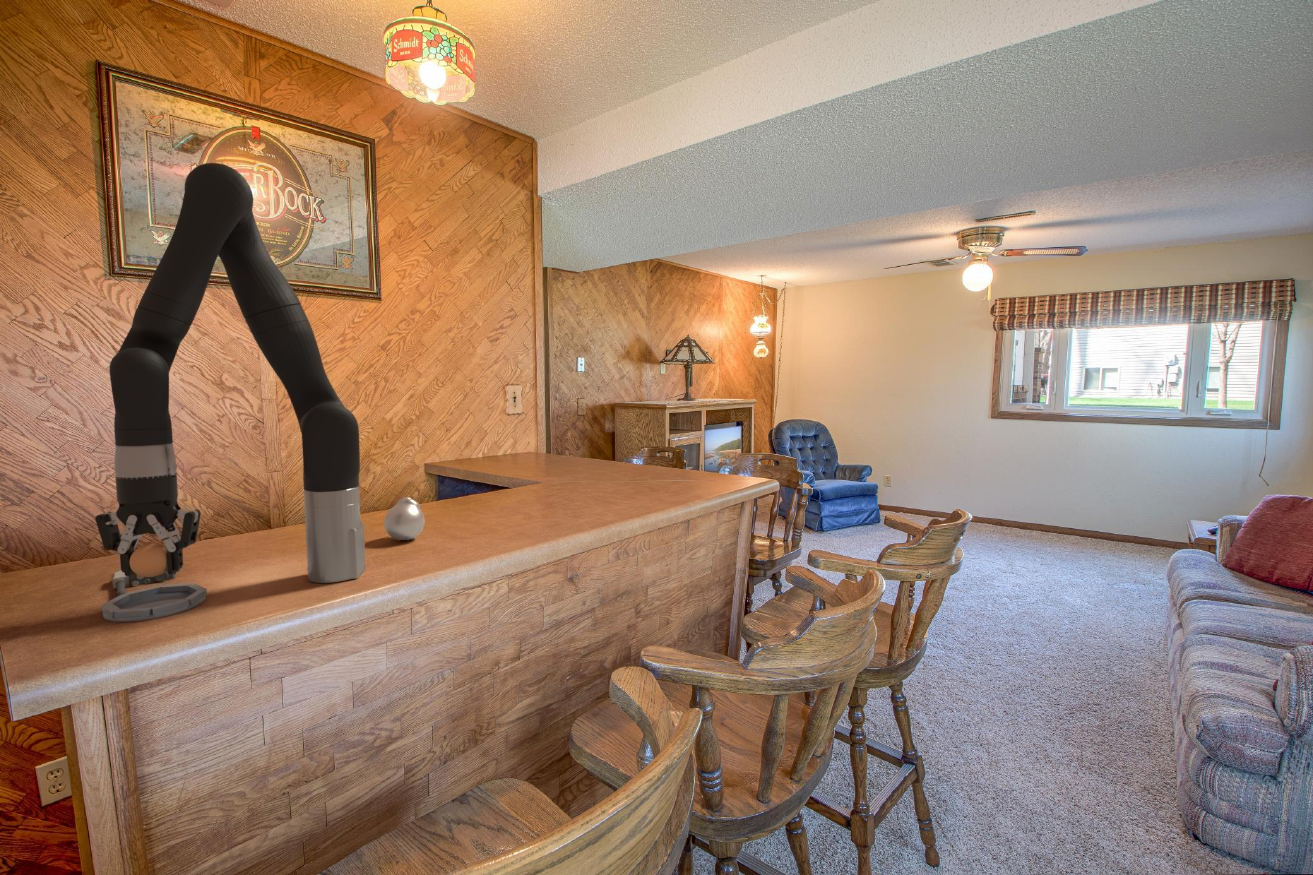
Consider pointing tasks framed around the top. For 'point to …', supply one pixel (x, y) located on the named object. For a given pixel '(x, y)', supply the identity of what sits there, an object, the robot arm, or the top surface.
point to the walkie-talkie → (136, 580)
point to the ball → (149, 560)
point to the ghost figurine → (404, 520)
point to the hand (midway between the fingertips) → (153, 573)
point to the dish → (154, 602)
